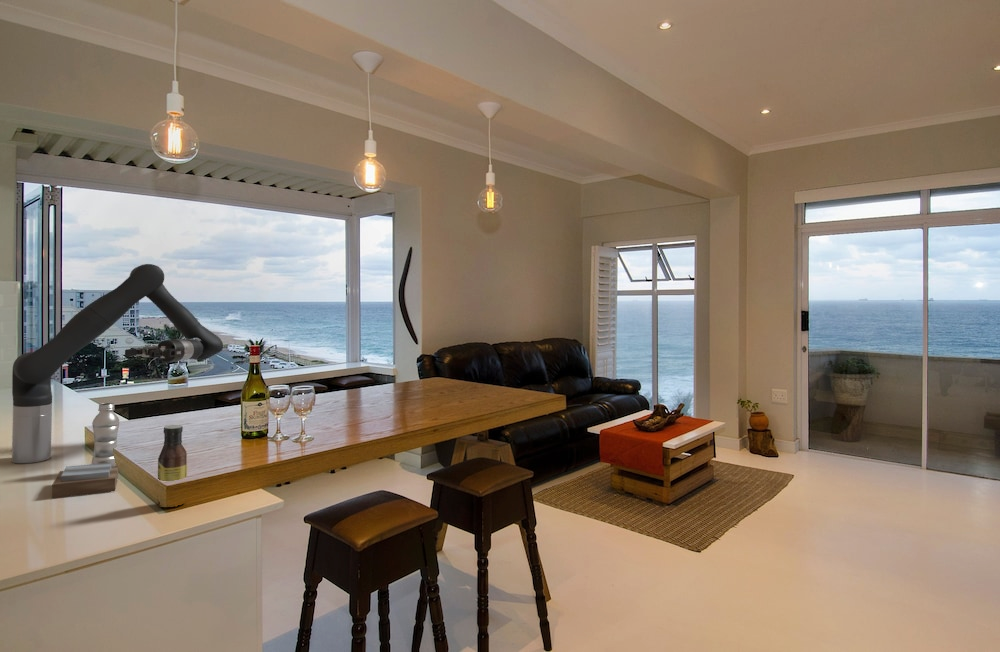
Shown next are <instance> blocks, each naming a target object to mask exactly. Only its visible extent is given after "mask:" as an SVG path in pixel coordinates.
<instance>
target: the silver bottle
mask: <svg viewBox="0 0 1000 652" xmlns="http://www.w3.org/2000/svg"><path fill="white" fill-rule="evenodd" d="M115 408H116V407H115V403H114V402H104V403H100V404H98V409H97V410H98V411H99V412H98V414H96V416H95V417H94V418H93V420H92V422H91V425H92V431H93V440H94V442H93V443H94V448H93V455H92V456H93V457H92V459H91V464H100V463H111V462H112V463H111V466H116V463H115V458H114V454H113V448H116V447H117V448H118V443H117V442H118V440H117V439H118V432H119V426H120V418H119V417H118V416H117V414H116V413H115V412H114V411H115Z"/></svg>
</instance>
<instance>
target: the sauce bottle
mask: <svg viewBox="0 0 1000 652" xmlns="http://www.w3.org/2000/svg"><path fill="white" fill-rule="evenodd" d="M183 428H184V427H183V425H181V424H169V425H165V426H164V427H163V435H164V439H163V440H164V441H163V446H162V448H161V451H160V453H159V456H158V458H157V480H158V479H159V480H162V481H174V480H179V479H183V478H185V477H187V478H188V460H187V459H188V458H187V455H188V453H187V450H186V449H185V447H184V446H183V444H182V443H183V440H182V439H183V438H182V437H183V434H182V433H183V430H184V429H183ZM157 503H158V507H160V508H161V505H160V501H159V498H158V497H157Z"/></svg>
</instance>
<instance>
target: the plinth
mask: <svg viewBox="0 0 1000 652" xmlns="http://www.w3.org/2000/svg"><path fill="white" fill-rule="evenodd" d="M111 463H112V462H111ZM111 463H100V464H89V463H88V464H80V465H69V466H65V468H64V469H63V470H59V472H58V473H57V475H56V476H55V479H54V480H53V483H52V485H51V499H60V498H68V497H77V496H79V497H80V496H88V495H97V494H105V492H106V493H112V492H111V491H115V492H116V489H117V483H118V480H117V479H119V465H118V466H111ZM87 494H88V495H87Z"/></svg>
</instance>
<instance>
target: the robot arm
mask: <svg viewBox="0 0 1000 652" xmlns="http://www.w3.org/2000/svg"><path fill="white" fill-rule="evenodd" d="M164 281H165V273H164V270H163V269H162V268H161V267H160V266H158V265H155V264H153V263H152V264H150V263H144V264H140V265H138V266H136V267H134V268H133V269H132V270H131V272H130V273H129V276H128V277H127V278H126V279H125V280H124V281H123V282H122V283H120V284H119V285H118V286H117V287H115V288H114V289H113V290H111V291H109V292H107V293H105V294H103V295H102V296H100V297H98V298H97V299H95V300H93V301H92V302H91V303H89V304H87V305H86V306H85V307H84V308H82V309H81V310H80V311H78V313H75V315H74V316H73V317H72V318H70V320H69V321H67V322H66V324H65V325H64V326H63V327H62V328H61V329H60V331H59V332H58V333H57V334H56V335H54V337H53V338H52V339H50V340H49V341H48V342H46V343H45V344H43V345H42V346H40V347H38V348H37V349H36V350H34V351H29V352H26V353H23V354H21V355H19V356H18V357H16V359H15V360H14V361H13V364H12V373H11V374H12V379H11V380H12V381H11V382H12V383H11V384H12V388H11V389H12V390H11V391H12V393H11V394H12V435H11V438H12V440H11V462H12V463H14V464H30V463H38V462H44V461H47V460H49V459H51V458H52V430H53V429H52V428H53V427H52V426H53V425H52V423H53V422H52V421H53V419H52V417H53V392H52V377H53V375H54V374H55V373H56V372H57V371H58V370H59V369H60V368H61V367H62V366H63V365H64V364H65V363H66V362H67V361H68V360H69V359H70V358H71V357H73V355H75V354H77V353H78V352H79V351H81V350H82V349H84V348H85V347H86V346H88V345H89V344H90V343H92V342H93V341H95V340H96V339H97V338H99V336H101V335H102V334H104V333H105V332H106V331H107V330H108V329H110V328H111V327H112V326H113V325H114V324H115V323H116V322H118V321H119V320H120V319H121V318H122V317H123V316H124V315H125V314H126V313H127V312H128V311H129V310H130V309H132V307H133V306H134V305H136V304H137V303H139V301H141V300H142V299H144V298H145V297H146V298H148V300H149V301H151V303H153V304H154V305H155V306H156V307H157V308H158V309H159V310H160V311H161V313H162V314H164V316H165V317H166V318H167V319H168V320H169V321H170V322H171V323H172V325H173V326H174V327H175V328H176V329H177V330H178V332H179V333H180V334H181V335H182V336H183V337H184V338H185V339H181V338H179V339H178V338H177V339H166V340H165V339H164V340H162V341H160V342H159V343H158V344H157V345H151V346H141V347H130V348H129V349H125V350H124V356H125V357H142V358H152V359H157V358H158V359H159V360H160V361H161V362H162V363H175V362H183V361H185V360H196V361H205V360H208V359H210V358H212V357H213V356H215V355H217V354H219V353H221V352H222V351H223V349H224V343H223V341H222V339H221V338H220V337H219V336H218V335H216V334H215V333H214V332H212V331H211V330H210V329H208V328H206V327H205V326H204V325H203V324H201V323H200V321H199V320H198V319H197V318H196V317H195V316H194V315H193V314H192V313H191V311H190V310H189V309H188V308H187V307H186V306H184V305H183V304H182V303H181V302H180V301H178V300H177V298H175V296H173V295H172V294H171V292H170V291H168V289H167V288H166V286H165V285H164ZM198 339H199V340H198Z"/></svg>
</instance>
